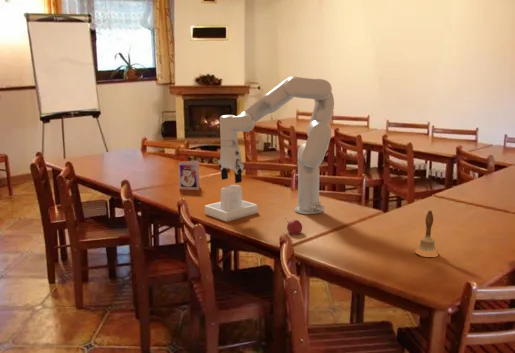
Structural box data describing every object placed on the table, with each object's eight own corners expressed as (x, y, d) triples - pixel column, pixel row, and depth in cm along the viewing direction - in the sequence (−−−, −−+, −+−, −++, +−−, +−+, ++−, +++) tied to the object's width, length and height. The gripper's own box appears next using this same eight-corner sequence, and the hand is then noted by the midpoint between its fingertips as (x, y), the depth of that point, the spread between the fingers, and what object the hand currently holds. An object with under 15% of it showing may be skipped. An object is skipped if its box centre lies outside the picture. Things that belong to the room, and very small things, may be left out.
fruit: (297, 235, 209) (290, 216, 211) (305, 231, 205) (298, 212, 206) (286, 238, 205) (279, 219, 207) (295, 234, 201) (288, 215, 202)
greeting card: (178, 189, 277) (177, 162, 274) (183, 186, 284) (182, 159, 281) (198, 190, 275) (197, 163, 271) (203, 187, 282) (202, 160, 278)
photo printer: (238, 208, 237) (237, 182, 234) (243, 210, 234) (243, 184, 231) (219, 212, 231) (218, 186, 228) (224, 214, 228) (223, 187, 225)
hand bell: (433, 249, 186) (436, 207, 183) (442, 257, 178) (445, 214, 175) (411, 249, 186) (413, 207, 182) (419, 258, 178) (421, 214, 174)
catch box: (257, 213, 233) (257, 204, 232) (226, 221, 221) (226, 213, 220) (235, 206, 244) (235, 198, 243) (204, 214, 233) (204, 205, 232)
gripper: (248, 143, 221) (250, 182, 225) (223, 140, 234) (226, 176, 238) (235, 146, 217) (237, 185, 221) (210, 142, 229) (213, 179, 233)
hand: (231, 180), depth 229 cm, fingers open, 9 cm apart
